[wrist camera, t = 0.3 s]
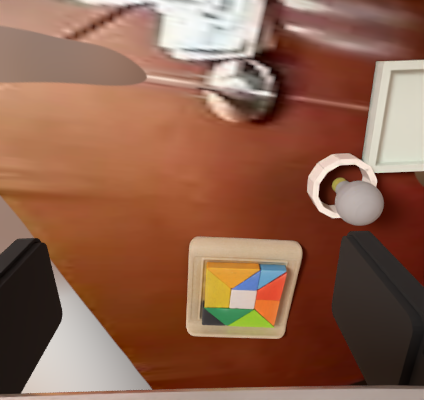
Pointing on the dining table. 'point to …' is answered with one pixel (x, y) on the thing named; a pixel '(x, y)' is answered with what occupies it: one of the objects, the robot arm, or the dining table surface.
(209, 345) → the dining table surface
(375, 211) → the light bulb
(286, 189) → the dining table surface
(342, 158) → the holder ring
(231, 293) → the wooden puzzle
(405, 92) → the tray
